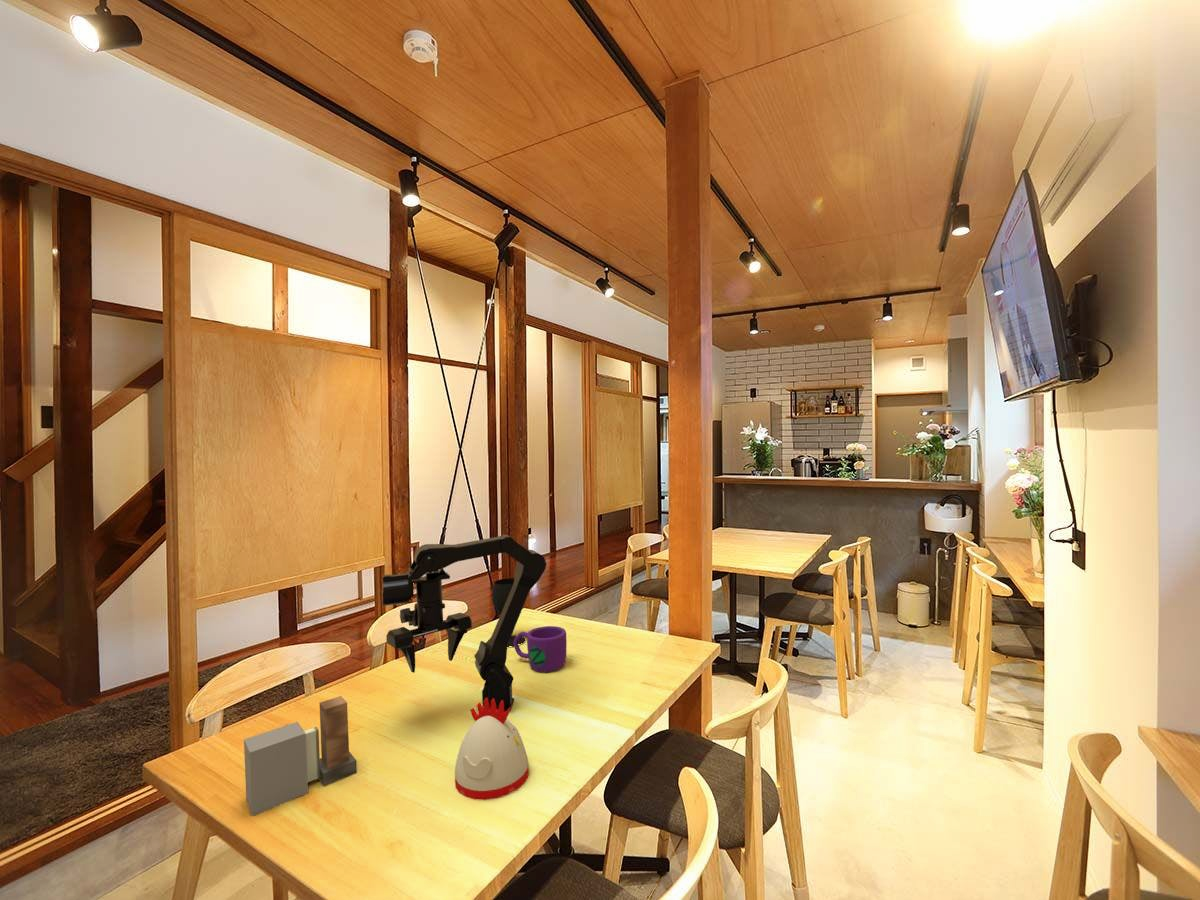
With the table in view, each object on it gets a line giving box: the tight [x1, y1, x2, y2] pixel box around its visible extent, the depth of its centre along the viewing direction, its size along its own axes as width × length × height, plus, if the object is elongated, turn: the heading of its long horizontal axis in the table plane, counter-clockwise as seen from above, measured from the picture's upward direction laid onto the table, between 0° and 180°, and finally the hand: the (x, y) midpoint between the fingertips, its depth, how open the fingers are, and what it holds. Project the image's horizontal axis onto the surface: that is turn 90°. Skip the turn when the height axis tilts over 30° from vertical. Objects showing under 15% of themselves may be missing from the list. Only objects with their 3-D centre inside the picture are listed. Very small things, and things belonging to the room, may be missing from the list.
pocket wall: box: [243, 721, 309, 817], centre depth 99 cm, size 9×6×11 cm
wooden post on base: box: [318, 695, 358, 787], centre depth 106 cm, size 6×6×14 cm
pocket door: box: [304, 726, 321, 783], centre depth 101 cm, size 8×2×9 cm, turn 132°
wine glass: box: [491, 577, 526, 648], centre depth 176 cm, size 10×10×20 cm
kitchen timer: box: [454, 698, 530, 801], centre depth 103 cm, size 14×14×15 cm
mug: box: [513, 625, 568, 673], centre depth 156 cm, size 17×11×10 cm, turn 63°
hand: (432, 666), depth 125 cm, fingers open, 9 cm apart
